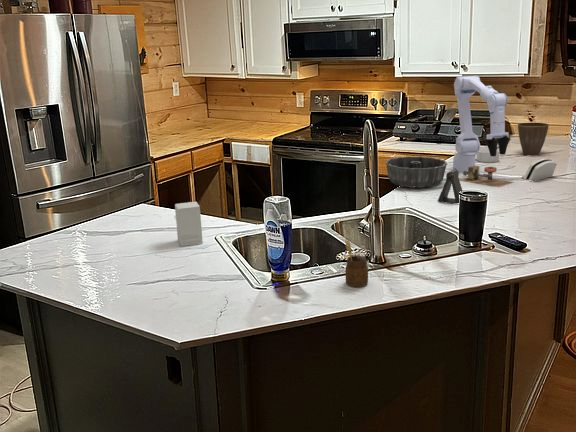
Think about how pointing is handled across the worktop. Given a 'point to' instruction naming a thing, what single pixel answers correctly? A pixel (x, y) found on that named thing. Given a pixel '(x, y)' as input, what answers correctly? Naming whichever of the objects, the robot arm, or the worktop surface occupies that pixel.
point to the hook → (489, 175)
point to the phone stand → (455, 184)
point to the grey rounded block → (540, 170)
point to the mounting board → (488, 182)
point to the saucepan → (487, 156)
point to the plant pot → (532, 137)
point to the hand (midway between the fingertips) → (497, 155)
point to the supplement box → (188, 223)
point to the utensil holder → (356, 269)
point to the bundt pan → (415, 171)
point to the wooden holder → (471, 173)
